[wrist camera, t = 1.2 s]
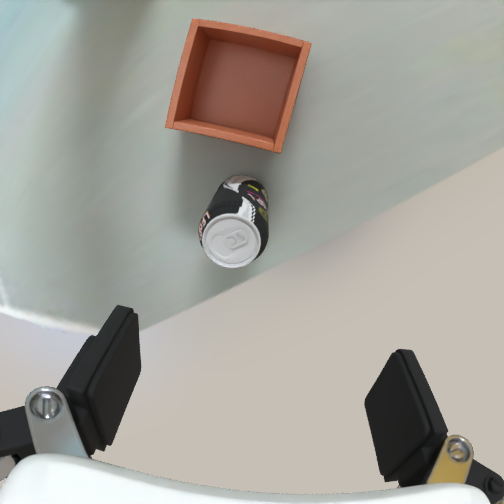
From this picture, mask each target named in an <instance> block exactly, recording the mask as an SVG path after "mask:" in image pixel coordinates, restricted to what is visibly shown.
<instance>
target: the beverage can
mask: <svg viewBox="0 0 504 504" xmlns="http://www.w3.org/2000/svg"><path fill="white" fill-rule="evenodd" d="M268 236H269V235H268V196H267V193H266V190H265V188H264V187H263V186H262V184H261V183H260V182H259V181H257V180H256V179H254V178H252V177H249V176H244V175H238V176H233V177H231V178H228V179H227V180H225V181H224V182H223V183H222V184H221V185H220V187H219V188H218V190H217V192H216V193H215V195H214V197H213V199H212V201H211V202H210V204H209V206H208V208H207V209H206V211H205V213H204V215H203V217H202V219H201V221H200V224H199V240H200V243H201V246H202V247H203V249H204V251H205V253H206V255H207V256H208V257H209V258H210V260H212V261H213V262H214V263H216V264H217V265H219V266H222V267H225V268H240V267H243V266H246V265H248V264H249V263H251V262H252V261H254V260H255V259H256V258H258V257H259V256H260V255H261V253H262V252H263V251H264V249H265V247H266V244H267V241H268Z"/></svg>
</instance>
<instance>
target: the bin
mask: <svg viewBox="0 0 504 504" xmlns="http://www.w3.org/2000/svg"><path fill="white" fill-rule="evenodd" d="M310 47H311V43H309V42H306V41H303V40H299V39H296V38H292V37H288V36H285V35H281V34H277V33H272V32H268V31H264V30H259V29H255V28H250V27H245V26H240V25H234V24H228V23H222V22H216V21H209V20H202V19H201V20H200V19H192V22H191V25H190V29H189V32H188V36H187V39H186V43H185V46H184V50H183V53H182V57H181V61H180V65H179V69H178V72H177V76H176V80H175V85H174V89H173V93H172V97H171V102H170V106H169V111H168V115H167V120H166V125H165V128H170V129H176V130H181V131H186V132H191V133H196V134H201V135H206V136H211V137H215V138H220V139H224V140H228V141H233V142H237V143H241V144H245V145H249V146H253V147H257V148H261V149H265V150H269V151H273V152H276V153H281V150H282V146H283V143H284V139H285V136H286V132H287V129H288V125H289V122H290V118H291V115H292V111H293V108H294V104H295V100H296V97H297V93H298V90H299V86H300V83H301V79H302V76H303V72H304V69H305V65H306V62H307V58H308V54H309V51H310Z"/></svg>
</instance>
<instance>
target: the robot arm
mask: <svg viewBox="0 0 504 504" xmlns="http://www.w3.org/2000/svg"><path fill="white" fill-rule="evenodd" d="M140 358H141V357H140V344H139V324H138V314H136V313H134V310H133V309H132V308H129V307H124V306H120V305H117V306H116V307H115V309H114V310H113V312H112V313H111V315H110V316H109V318H108V319H107V321H106V322H105V324H104V325H103V327H102V328H101V330H100V331H99V333H98V335H97V336H93V335H91V336H90V337H89V338H88V339H87V340H86V342H85V343H84V345H83V346H82V348H81V349H80V351H79V353H78V354H77V356H76V357H75V359H74V360H73V362H72V364H71V365H70V367H69V369H68V370H67V372H66V373H65V375H64V377H63V378H62V380H61V381H60V383H59V385H58V386H57V388H53V387H49V386H45V387H39V388H36V389H34V390H33V391H32V392H30V394H29V395H28V396H27V398H26V401H25V406H22V407H18V408H15V409H11V410H7V411H3V412H0V481H1V480H3V479H4V478H6V480H5V482H4V484H3V486H2V487H1V489H0V504H504V480H503V479H502V477H501V476H499V475H498V474H497V473H495V472H493V471H492V470H490V469H488V468H487V467H485V466H484V465H482V464H480V463H479V462H477V461H475V460H474V459H473V455H474V451H473V447H472V445H471V443H470V442H469V441H468V440H467V439H466V438H464V437H463V436H460V435H451V436H449V437H448V436H447V434H446V433H447V432H448V429H447V427H446V424H445V422H444V419H443V417H442V414H441V412H440V410H439V407H438V405H437V402H436V400H435V398H434V396H433V393H432V391H431V389H430V386H429V384H428V382H427V380H426V378H425V375H424V373H423V371H422V369H421V367H420V365H419V363H418V361H417V359H416V356H415V354H414V352H413V351H412V350H406V349H398V350H396V352H394V353H392V354H391V356H390V357H389V359H388V361H387V363H386V365H385V367H384V368H383V370H382V372H381V373H380V375H379V377H378V378H377V380H376V382H375V383H374V385H373V387H372V388H371V390H370V391H369V393H368V395H367V397H366V398H365V409H366V413H367V417H368V421H369V426H370V430H371V434H372V438H373V443H374V447H375V451H376V456H377V461H378V466H379V470H380V473H381V475H383V476H384V480H385V482H390V481H397V480H398V482H399V486H398V487H397V488H396V489H388V490H379V491H370V492H358V493H341V494H279V493H261V492H250V491H240V490H231V489H223V488H216V487H210V486H203V485H197V484H192V483H186V482H181V481H177V480H172V479H167V478H162V477H158V476H154V475H150V474H145V473H142V472H138V471H134V470H130V469H127V468H123V467H120V466H116V465H112V464H109V463H105V462H101V461H97V460H94V459H92V457H91V455H93V454H94V452H95V450H96V449H98V450H101V451H105V448H106V445H109V446H110V445H112V443H113V440H114V438H115V435H116V433H117V430H118V427H119V425H120V422H121V420H122V417H123V415H124V412H125V409H126V407H127V404H128V402H129V399H130V397H131V395H132V392H133V390H134V387H135V385H136V382H137V380H138V377H139V375H140V372H141V359H140Z"/></svg>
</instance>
